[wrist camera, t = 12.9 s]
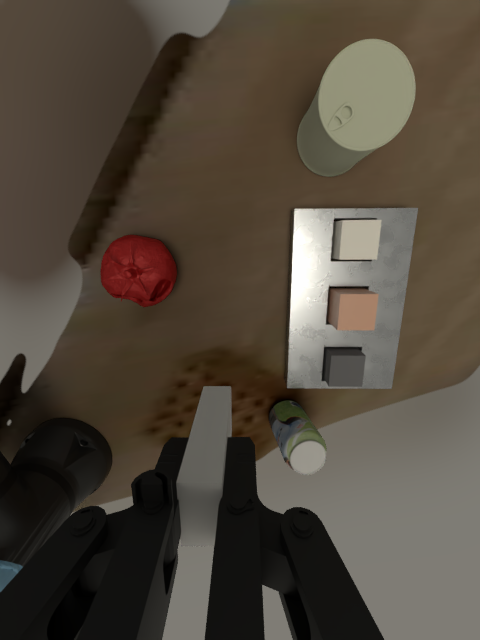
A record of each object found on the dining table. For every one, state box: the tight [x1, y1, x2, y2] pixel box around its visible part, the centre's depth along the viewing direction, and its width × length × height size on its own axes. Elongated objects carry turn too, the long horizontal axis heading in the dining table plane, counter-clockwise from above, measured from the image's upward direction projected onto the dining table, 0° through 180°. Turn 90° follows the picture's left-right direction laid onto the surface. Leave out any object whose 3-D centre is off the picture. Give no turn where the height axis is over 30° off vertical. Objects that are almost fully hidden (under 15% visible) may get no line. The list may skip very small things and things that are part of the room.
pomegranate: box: [100, 235, 177, 307], centre depth 39 cm, size 10×10×9 cm
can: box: [297, 39, 415, 177], centre depth 33 cm, size 9×9×12 cm
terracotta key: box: [327, 288, 379, 330], centre depth 40 cm, size 5×5×5 cm
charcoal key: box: [322, 347, 366, 387], centre depth 44 cm, size 5×5×5 cm
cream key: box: [331, 220, 382, 260], centre depth 39 cm, size 5×5×5 cm
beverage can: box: [269, 400, 326, 475], centre depth 43 cm, size 6×7×12 cm
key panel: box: [285, 208, 418, 389], centre depth 43 cm, size 16×26×3 cm, turn 0°
